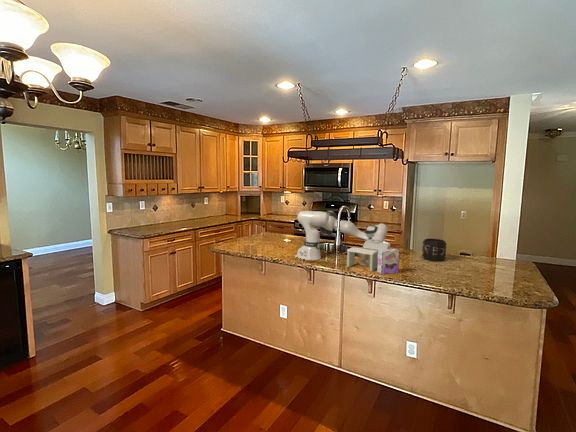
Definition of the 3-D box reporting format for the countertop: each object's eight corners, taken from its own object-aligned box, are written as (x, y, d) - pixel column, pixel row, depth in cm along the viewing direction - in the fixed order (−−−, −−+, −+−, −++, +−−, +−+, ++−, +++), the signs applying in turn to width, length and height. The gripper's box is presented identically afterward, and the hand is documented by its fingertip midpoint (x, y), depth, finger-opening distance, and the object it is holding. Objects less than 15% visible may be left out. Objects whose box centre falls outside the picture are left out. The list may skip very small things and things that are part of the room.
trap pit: (350, 269, 248) (350, 268, 248) (351, 268, 250) (351, 267, 250) (363, 271, 242) (363, 271, 242) (364, 270, 244) (364, 270, 244)
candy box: (381, 274, 235) (382, 251, 233) (376, 272, 241) (377, 249, 239) (398, 273, 239) (399, 250, 237) (394, 270, 244) (395, 248, 242)
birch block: (359, 264, 260) (359, 254, 259) (364, 262, 268) (364, 252, 267) (371, 267, 254) (372, 256, 253) (376, 264, 262) (376, 253, 261)
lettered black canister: (420, 260, 274) (421, 241, 271) (422, 255, 289) (424, 237, 287) (444, 263, 265) (446, 243, 263) (446, 258, 281) (447, 239, 279)
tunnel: (346, 266, 254) (347, 249, 252) (352, 263, 262) (353, 247, 260) (372, 271, 242) (372, 253, 241) (377, 268, 250) (378, 250, 249)
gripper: (391, 245, 271) (386, 259, 264) (367, 241, 283) (362, 255, 276) (390, 240, 266) (385, 255, 260) (365, 237, 278) (360, 251, 272)
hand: (373, 255), depth 268 cm, fingers closed
